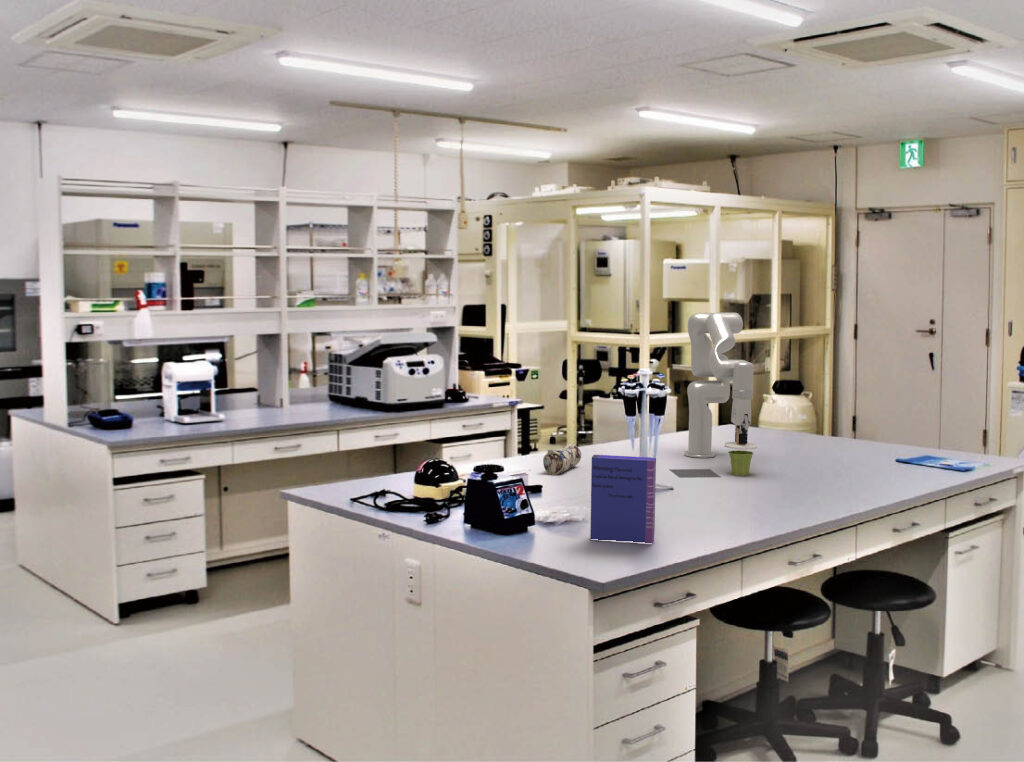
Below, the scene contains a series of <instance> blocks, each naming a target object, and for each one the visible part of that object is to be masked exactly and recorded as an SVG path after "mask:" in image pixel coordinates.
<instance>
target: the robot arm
mask: <svg viewBox="0 0 1024 762" xmlns="http://www.w3.org/2000/svg"><path fill="white" fill-rule="evenodd" d="M743 321H744V320H743V317H742V316H741V315H740V314H739V313H737V312H698V313H694V314H691V315H690V316H689V318H688V319H687V334H688V336H689V341H690V346H691V347H690V367H691V374H692V376H694V377H698V378H715V380H714V379H713V380H711V379H710V380H709V379H705V380H704V379H701V380H693V381H691V382H690V383H689V384H688V386H687V390H686V391H687V398H688V399H687V400H688V412H689V413H688V447H687V448H688V449H687V451H684V453H683V454H684V456H686V457H688V458H697V459H702V458H703V459H706V458H707V459H708V458H713V457H714V458H715V456H716V453H715V452H714V451H712V445H713V444H712V439H713V437H712V435H713V433H712V432H713V413H712V410H711V409H710V408H709V406H708V404H724V403H727V401H728V400H729V399H730V394H731V393H730V392H731V380H732V395H731V398H732V404H731V416H730V421H731V423H732V424H733V425H734V432H735V435H734V442H736V433H737V428H740V433H739V444H747V442H748V433H749V428H750V425H751V423H752V401H751V400H753V398H754V369H755V367H754V364H753V363H752V362H749V361H747V360H745V359H729V358H728V356H727V355H725V354H724V353H726V352H728V351H730V350H731V349H733V348H734V347H735V345H736V338H735V335H736V334H740V333H741V332H742V331H743V327H744V322H743ZM707 334H709V336H708V335H707ZM734 334H735V335H734ZM710 338H711V339H710Z"/></svg>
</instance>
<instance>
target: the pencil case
mask: <svg viewBox="0 0 1024 762" xmlns="http://www.w3.org/2000/svg"><path fill="white" fill-rule="evenodd" d="M546 451H547V452H546V454H545V455H544V456H543V460H542V463H543V468H544V471H545V472H546V473H547V474H550V475H552V476H556V475H560V474H562V473H564V472H565V471H568V470H569V469H571V468H573V467H575V466H578V464H579V463H580V462H581V459H582V451H581V449H580V448H579V446H577V445H575V444H574V443H568V444H565V445H564V446H563V447H562V448H560V449H553V448H551V449H547V450H546Z"/></svg>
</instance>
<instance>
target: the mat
mask: <svg viewBox="0 0 1024 762" xmlns="http://www.w3.org/2000/svg"><path fill="white" fill-rule="evenodd" d="M668 471H670V472H672V473H673V474H674V475H675V476H677V477H678V478H680V479H681V478H691V479H692V478H693V479H694V478H695V479H696V478H722V476H720V475H719V474H717V473H716V472H715V471H713V470H711V468H688V469H687V468H686V469H685V468H684V469H683V468H681V469H677V468H676V469H674V468H673V469H672V468H671V469H668Z"/></svg>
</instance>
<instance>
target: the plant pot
mask: <svg viewBox="0 0 1024 762" xmlns="http://www.w3.org/2000/svg"><path fill="white" fill-rule="evenodd" d="M727 452H728V455H729V459H730V466H731V474H732V475H734V476H749V473H750V468H751V462H752V457H753V455H754V452H753V451H750V450H749V451H748V450H740V449H737V450H729V451H727Z"/></svg>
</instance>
